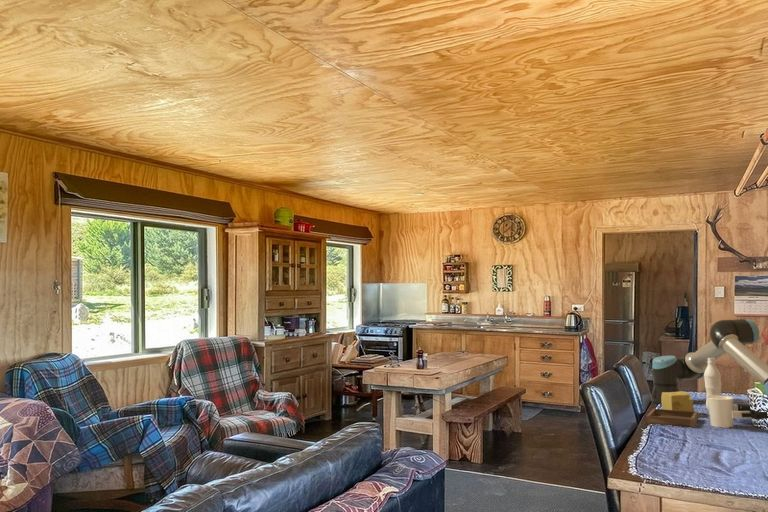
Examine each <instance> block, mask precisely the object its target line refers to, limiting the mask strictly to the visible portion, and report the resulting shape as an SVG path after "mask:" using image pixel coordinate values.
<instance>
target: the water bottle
mask: <svg viewBox="0 0 768 512" xmlns="http://www.w3.org/2000/svg"><path fill="white" fill-rule="evenodd" d="M707 363H708V366H707V368H706V370H705V372H704V376H703V378H704V388H705V393H706V397H707V396H722V378H721V377H722V376H721V372H720V370H719V369H718V367H717V365H716V360H715V358H708V362H707ZM705 407H706V409H707V411H709V407H708V400H707V398H706V401H705Z"/></svg>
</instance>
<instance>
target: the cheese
mask: <svg viewBox="0 0 768 512" xmlns="http://www.w3.org/2000/svg"><path fill="white" fill-rule="evenodd" d="M661 402H662V404H661V409H665V410H679V411H693V412H696V410H695V409H694V400H693V398H692V396H691V395H690V394H689V393H688V392H685V391H682V390H680V391H679V392H662V396H661Z"/></svg>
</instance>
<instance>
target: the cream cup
mask: <svg viewBox="0 0 768 512" xmlns="http://www.w3.org/2000/svg"><path fill="white" fill-rule="evenodd" d="M706 399H707V400H708V407H709V410H708V414H709V421H710V422H709V423H710V426H711V425H712V427H713V426H714V428H718V427H722V428H721V429H730V428H729V427H732V428H733V427H734V418H732V411H733V405H734V397H733V396H727V395H721V396H707V395H706Z"/></svg>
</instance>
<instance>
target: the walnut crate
mask: <svg viewBox="0 0 768 512" xmlns="http://www.w3.org/2000/svg"><path fill="white" fill-rule="evenodd" d="M645 416H646V417H645V418H646V425H651V424H660V425H659V426H663V425H672V426H671V427H675V426H681V427H680V428H687V427H691V428H690V429H695V427H696V425H697V423H698V421H699V412H698V411H695V412H693V411H679V410H665V409H662V408H652V409H651V410H650V411H649V412H648V413H647V415H645Z"/></svg>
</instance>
